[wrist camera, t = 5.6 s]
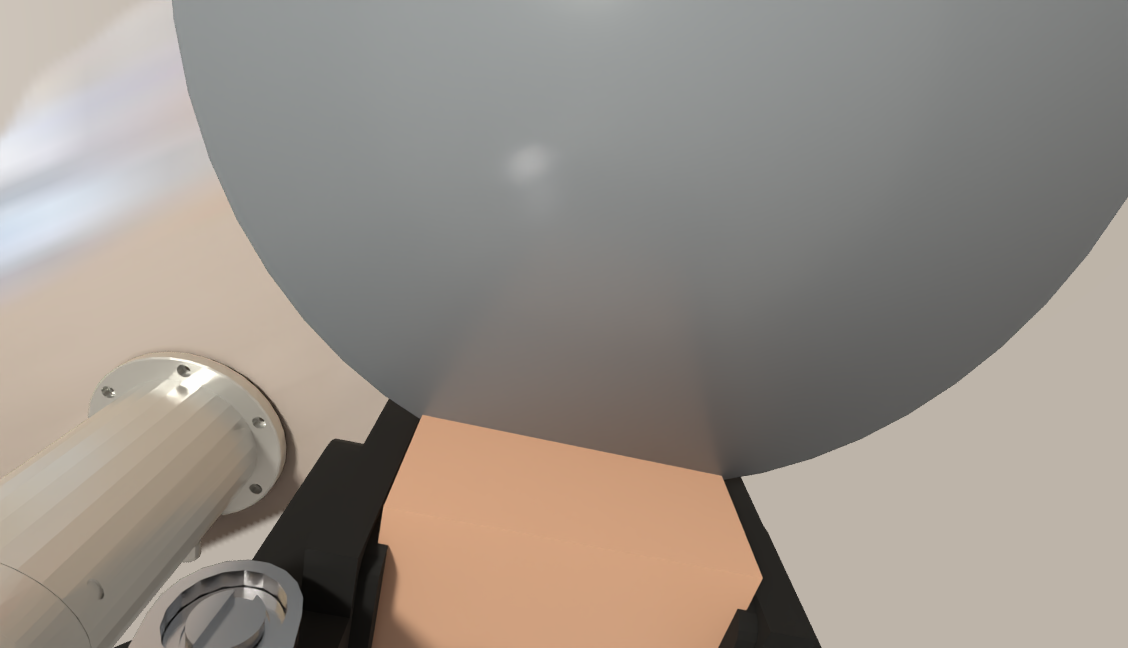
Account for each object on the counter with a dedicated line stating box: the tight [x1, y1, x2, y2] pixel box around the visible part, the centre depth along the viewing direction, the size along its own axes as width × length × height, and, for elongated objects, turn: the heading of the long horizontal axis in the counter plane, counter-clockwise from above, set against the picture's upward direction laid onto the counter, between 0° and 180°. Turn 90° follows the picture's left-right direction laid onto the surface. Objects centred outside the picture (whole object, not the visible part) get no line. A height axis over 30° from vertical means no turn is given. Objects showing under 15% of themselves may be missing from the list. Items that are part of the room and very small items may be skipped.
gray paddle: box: [172, 0, 1128, 648], centre depth 6 cm, size 14×10×2 cm
